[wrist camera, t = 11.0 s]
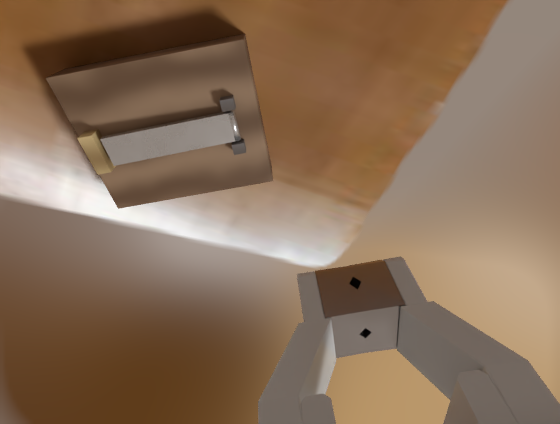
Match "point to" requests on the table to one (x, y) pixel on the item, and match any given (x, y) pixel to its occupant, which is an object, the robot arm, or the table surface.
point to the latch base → (168, 118)
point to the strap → (172, 138)
